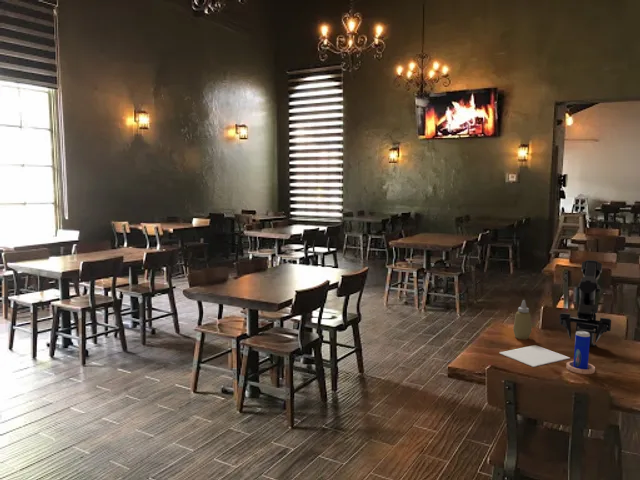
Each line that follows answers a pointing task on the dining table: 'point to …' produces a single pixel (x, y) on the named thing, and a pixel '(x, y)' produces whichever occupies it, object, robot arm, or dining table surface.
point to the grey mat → (534, 355)
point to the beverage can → (581, 350)
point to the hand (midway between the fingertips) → (582, 339)
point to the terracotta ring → (581, 371)
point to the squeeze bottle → (522, 322)
